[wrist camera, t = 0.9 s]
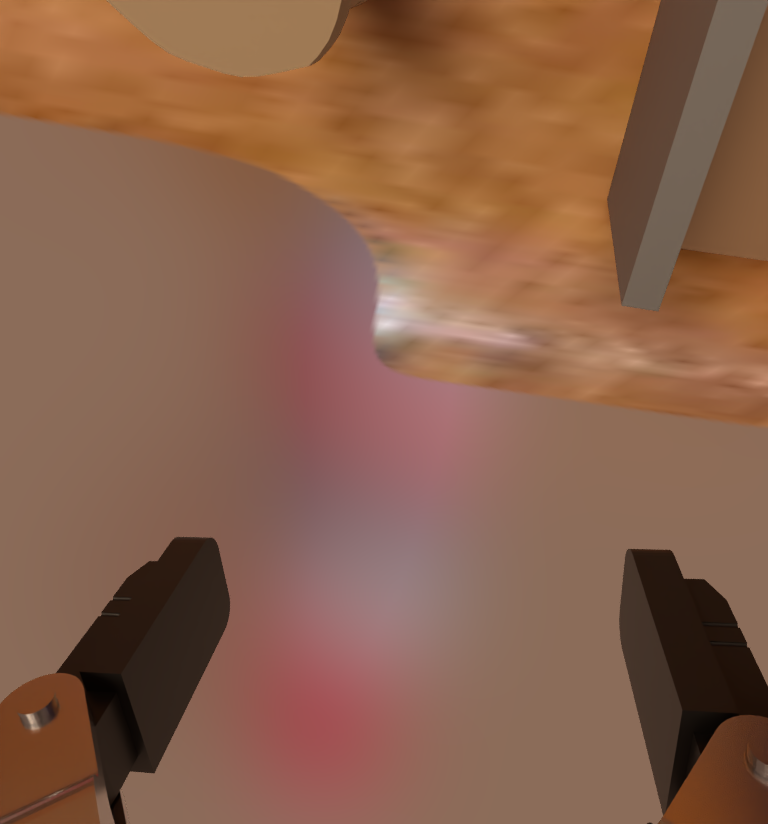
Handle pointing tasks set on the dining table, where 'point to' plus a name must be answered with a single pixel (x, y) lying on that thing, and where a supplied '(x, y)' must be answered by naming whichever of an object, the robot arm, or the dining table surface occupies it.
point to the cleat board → (694, 146)
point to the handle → (241, 31)
